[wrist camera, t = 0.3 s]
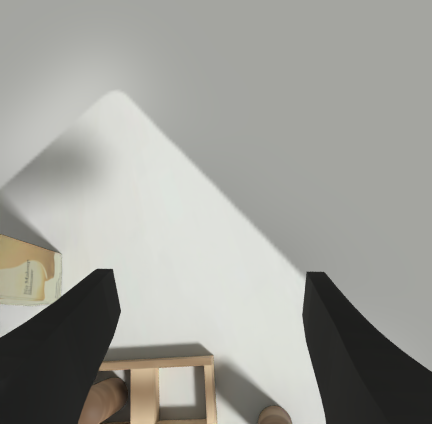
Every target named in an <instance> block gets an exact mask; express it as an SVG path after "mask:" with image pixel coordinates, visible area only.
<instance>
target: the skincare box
mask: <svg viewBox="0 0 432 424" xmlns="http://www.w3.org/2000/svg"><path fill="white" fill-rule="evenodd" d="M61 274H62V256H61V254H60V253H57V252H54V251H51V250H48V249H45V248H42V247H39V246H36V245H33V244H29V243H26V242H23V241H20V240H17V239H14V238H11V237H8V236H5V235H2V234H0V304H4V305H19V306H37V305H46V304H52V303H54V302H55V301H56V300H58V299H59V298H60V297H61Z"/></svg>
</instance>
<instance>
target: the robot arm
mask: <svg viewBox="0 0 432 424" xmlns="http://www.w3.org/2000/svg"><path fill="white" fill-rule="evenodd" d="M120 313H121V309H120V304H119V299H118V293H117V288H116V283H115V278H114V273H113V269H96V270H95V271H93V272H92V273H91V274H89V275H88V276H87V277H85V278H84V279H83V280H82V281H80V282H79V283H78V284H77V285H75V286H74V287H73V288H72V289H70V290H69V291H68V292H66V293H65V294H64V295H63V296H61V297H60V298H59V299H58V300H56V301H55V302H54V303H52V304H51V305H49V306H48V307H47V308H45V309H44V310H42V311H41V312H40V313H38V314H37V315H35V316H34V317H33V318H31V319H30V320H28V321H27V322H25V323H24V324H22V325H20V326H19V327H17V328H16V329H14V330H12V331H11V332H9V333H7V334H6V335H4V336H2V337H1V338H0V424H78V421H79V418H80V415H81V412H82V409H83V406H84V403H85V401H86V398H87V396H88V393H89V391H90V388H91V386H92V384H93V382H94V379H95V377H96V375H97V373H98V370H99V368H100V366H101V364H102V361H103V359H104V357H105V355H106V352H107V350H108V348H109V346H110V343H111V341H112V339H113V336H114V333H115V330H116V327H117V323H118V320H119V316H120ZM302 316H303V323H304V331H305V338H306V343H307V347H308V351H309V354H310V358H311V362H312V366H313V369H314V373H315V377H316V380H317V384H318V388H319V392H320V395H321V399H322V404H323V408H324V412H325V418H326V424H432V372H431V371H430V370H428V369H427V368H425V367H424V366H422V365H421V364H420V363H418V362H417V361H415V360H414V359H413V358H411V357H410V356H408V355H407V354H406V353H405V352H403V351H402V350H401V349H399V348H398V347H397V346H396V345H394V344H393V343H392V342H391V341H390V340H388V339H387V338H386V337H385V336H384V335H383V334H381V333H380V332H379V331H378V330H377V329H376V328H375V327H374V326H373V325H372V324H370V323H369V321H367V320H366V318H364V316H363V315H362V314H361V313H360V312H359V311H358V310H357V309H356V308H355V307H354V306H353V305H352V304H351V303H350V302H349V300H348V299H347V298H346V297H345V296H344V295H343V294H342V292H341V291H340V290H339V289H338V288H337V287H336V285H335V284H334V283H333V282H332V281H331V279H330V278H329V277H328V276H327V275H326V274H325V273H324V272H307V274H306V284H305V294H304V304H303V314H302Z"/></svg>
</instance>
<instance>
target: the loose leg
mask: <svg viewBox="0 0 432 424" xmlns="http://www.w3.org/2000/svg"><path fill="white" fill-rule="evenodd" d="M258 424H292V421H291V418H290V416H289V414H288V413H287V412H286V411H285V410H284V409H283V408H281V407H279V406H269V407H266V408H265V409H264V410H263V411H262V412H261V413H260V415H259V418H258Z"/></svg>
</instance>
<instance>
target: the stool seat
mask: <svg viewBox="0 0 432 424" xmlns="http://www.w3.org/2000/svg"><path fill="white" fill-rule="evenodd" d="M184 366H204V373H205V393H206V413H207V419H188V420H160V417H159V368H165V367H184ZM127 369H131V422H104V423H101V422H103V421H104V420H106V419H107V418H108V417H110V416H111V415H113V414H114V413H116V412H117V411H119V410H120V409H122V408H123V407H124V405H125V404H126V402H127V399H128V388H127V386H126V384H125V382H124V381H123V380H121V379H119V378H116V377H113V378H109V379H106V380H104V381H102V382H99V383H97V384H95V385H92V386H91V388H90V391H89V393H88V396H87V398H86V401H85V403H84V406H83V409H82V412H81V415H80V418H79V421H78V424H217V410H216V393H215V376H214V358H213V355H209V356H191V357H173V358H154V359H136V360H118V361H102V364H101V366H100V368H99V370H98V371H107V370H127Z"/></svg>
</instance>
